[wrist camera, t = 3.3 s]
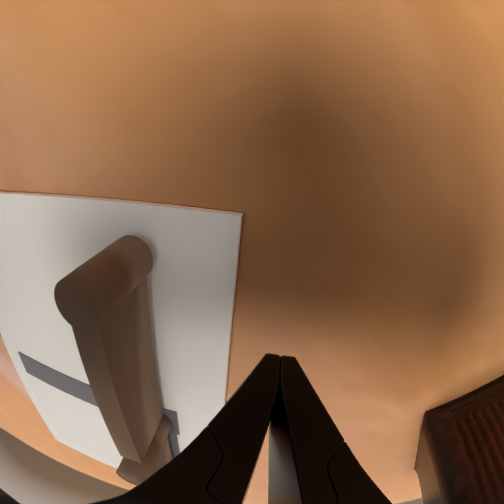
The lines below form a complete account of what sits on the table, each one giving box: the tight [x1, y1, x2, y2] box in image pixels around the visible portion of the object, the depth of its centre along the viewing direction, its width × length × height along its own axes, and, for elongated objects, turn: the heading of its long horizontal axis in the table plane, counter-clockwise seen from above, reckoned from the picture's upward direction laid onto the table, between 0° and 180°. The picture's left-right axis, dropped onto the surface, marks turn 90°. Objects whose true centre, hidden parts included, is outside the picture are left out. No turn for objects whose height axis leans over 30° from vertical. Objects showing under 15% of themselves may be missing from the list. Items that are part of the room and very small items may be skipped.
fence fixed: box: [116, 414, 173, 485], centre depth 16 cm, size 2×13×5 cm, turn 174°
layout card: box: [0, 191, 243, 469], centre depth 16 cm, size 18×26×1 cm
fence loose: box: [54, 235, 163, 464], centre depth 11 cm, size 2×11×4 cm, turn 174°
